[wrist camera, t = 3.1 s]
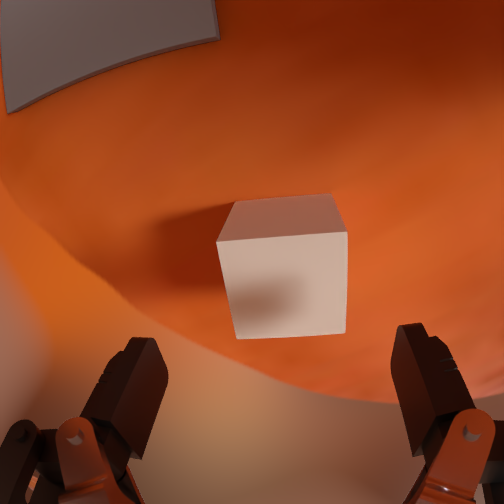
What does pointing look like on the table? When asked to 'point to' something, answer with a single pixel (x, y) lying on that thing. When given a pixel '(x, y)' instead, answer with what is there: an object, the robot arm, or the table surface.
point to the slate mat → (90, 39)
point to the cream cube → (285, 266)
